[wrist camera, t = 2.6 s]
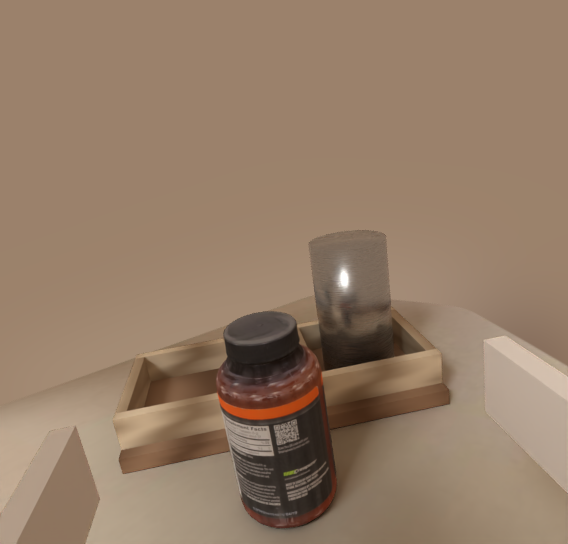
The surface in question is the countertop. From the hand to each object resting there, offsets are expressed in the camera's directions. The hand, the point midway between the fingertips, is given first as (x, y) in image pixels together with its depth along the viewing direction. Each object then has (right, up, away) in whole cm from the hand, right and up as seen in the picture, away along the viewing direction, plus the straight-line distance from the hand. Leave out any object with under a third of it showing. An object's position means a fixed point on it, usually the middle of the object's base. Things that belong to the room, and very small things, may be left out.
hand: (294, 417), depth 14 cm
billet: (+6, -3, +24) cm, 25 cm away
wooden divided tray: (-1, -6, +24) cm, 24 cm away
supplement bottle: (0, -9, +13) cm, 16 cm away
